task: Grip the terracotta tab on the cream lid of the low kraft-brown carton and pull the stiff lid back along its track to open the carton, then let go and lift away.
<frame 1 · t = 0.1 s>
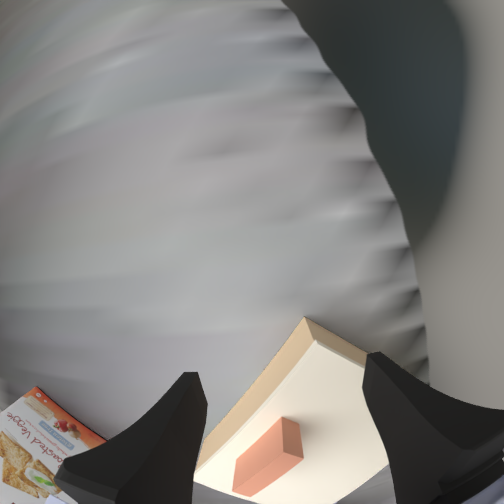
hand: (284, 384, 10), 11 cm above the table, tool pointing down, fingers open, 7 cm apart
carton lid: (320, 473, 15), point 7 cm above the table, slide at 0.0 cm
cracker box: (73, 425, 24), on the table
carton: (309, 419, 22), on the table
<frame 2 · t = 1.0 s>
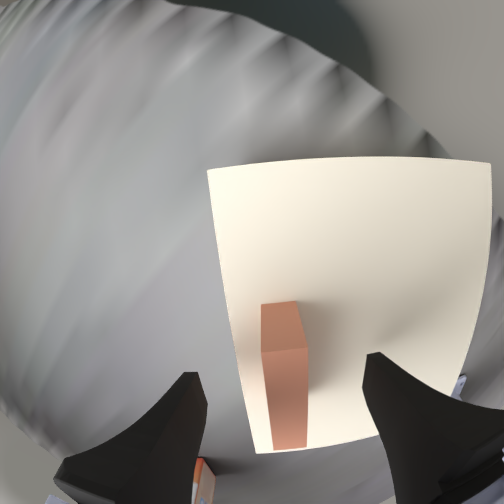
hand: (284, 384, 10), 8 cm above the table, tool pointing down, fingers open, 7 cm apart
carton lid: (390, 358, 11), point 7 cm above the table, slide at 0.0 cm
cracker box: (158, 461, 25), on the table
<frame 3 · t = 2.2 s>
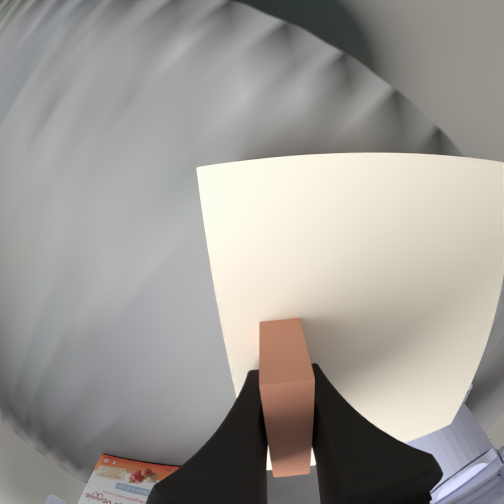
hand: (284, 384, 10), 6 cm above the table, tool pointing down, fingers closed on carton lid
carton lid: (403, 378, 9), point 7 cm above the table, slide at 0.0 cm, touching gripper
cracker box: (154, 470, 23), on the table
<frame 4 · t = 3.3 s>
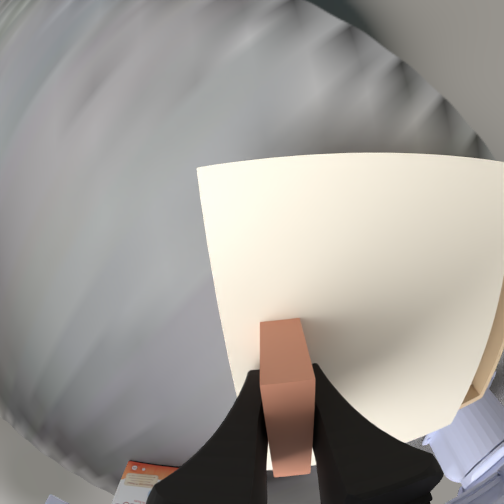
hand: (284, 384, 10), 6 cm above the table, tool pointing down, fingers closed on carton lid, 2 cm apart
carton lid: (403, 378, 9), point 7 cm above the table, slide at 4.1 cm, touching gripper
cracker box: (186, 474, 23), on the table
carton: (409, 295, 16), on the table
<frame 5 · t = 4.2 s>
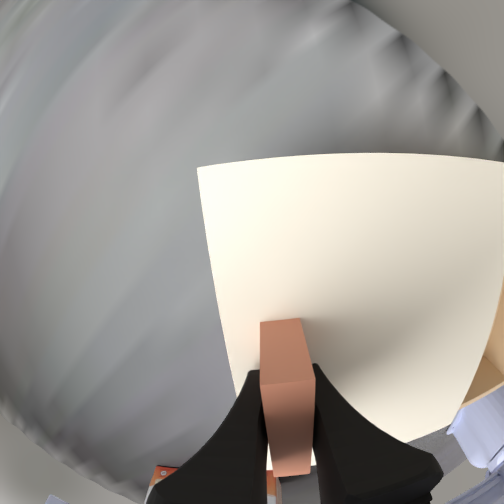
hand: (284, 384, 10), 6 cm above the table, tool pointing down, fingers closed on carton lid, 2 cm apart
carton lid: (403, 378, 9), point 7 cm above the table, slide at 7.9 cm, touching gripper
cracker box: (217, 476, 23), on the table
carton: (450, 286, 16), on the table
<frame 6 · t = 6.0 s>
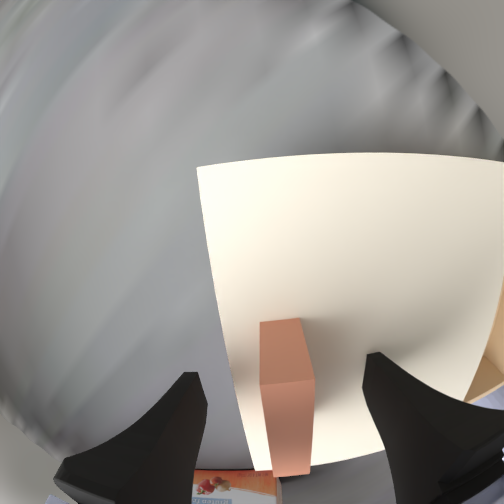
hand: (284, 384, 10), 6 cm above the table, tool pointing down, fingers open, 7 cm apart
carton lid: (403, 378, 9), point 7 cm above the table, slide at 8.0 cm
cracker box: (217, 476, 23), on the table
carton: (450, 286, 16), on the table
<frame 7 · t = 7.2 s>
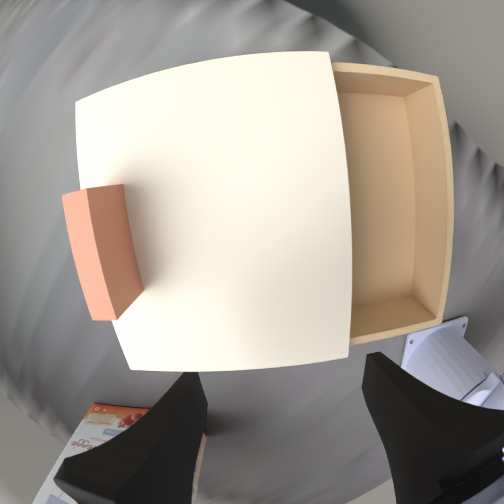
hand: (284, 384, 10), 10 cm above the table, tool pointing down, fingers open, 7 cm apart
carton lid: (201, 235, 12), point 7 cm above the table, slide at 8.0 cm
cracker box: (146, 419, 26), on the table
carton: (335, 202, 19), on the table
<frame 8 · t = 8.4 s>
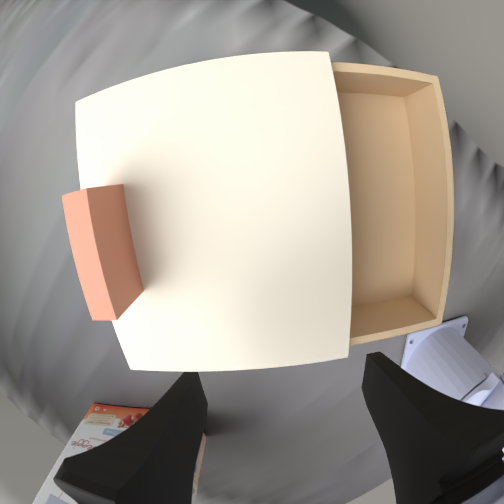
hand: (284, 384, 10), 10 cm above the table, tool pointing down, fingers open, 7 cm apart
carton lid: (201, 235, 12), point 7 cm above the table, slide at 8.0 cm
cracker box: (146, 419, 26), on the table
carton: (335, 202, 19), on the table
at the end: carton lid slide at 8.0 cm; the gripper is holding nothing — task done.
